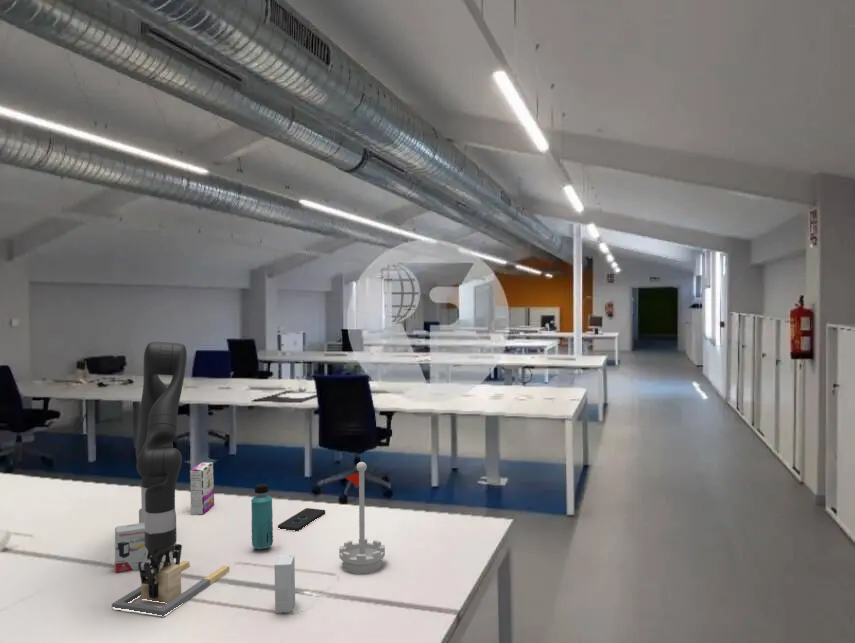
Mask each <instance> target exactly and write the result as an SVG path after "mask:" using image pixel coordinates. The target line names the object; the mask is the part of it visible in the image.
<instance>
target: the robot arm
mask: <svg viewBox="0 0 855 643" xmlns="http://www.w3.org/2000/svg"><path fill="white" fill-rule="evenodd" d="M143 353H144V354H143V386H142V394H141V402H140V412H139V414H140V415H139V429H138V434H137V438H136V444H135V459H136V471H137V474H138V475H139V476H141V481H140V485H141V486H140V488H141V508H140V509H138V523H144V532H145V547H146V548H147V550H148V555H147V559H146V560H145V561H144V562H139V564H138V567H139V569H138V570H139V571H138V572H139V577H140V582H142V584H148V585H149V597H150V598H157V597H158V579H159V577H158V575H159V574H160V572H161V571H162V568H163V566H165V565H172V564H177V565H180V562H181V557H182V556H181V555H182V550H183V549H182V548H183V545H182V544H179V543H177V541H178V540H177V513H176V487H177V486H176V485H177V481H178V477H179V475H180V474H179V473H180V471H181V467H182V463H183V456H182V453H181V451H180V450H179V449H178V448H174V443H173V442H174V441H175V440H176V436H177V430H178V428H177V427H178V425H177V424H178V412H179V404H180V400H181V394H182V390H183V385H184V379H185V374H186V367H187V357H188V355H187V354H188V353H187V348H186V346H185V344H183V343H179V342H167V341H151V342H149V343H148V344H147V345H146V347H145V349H144V352H143ZM159 375H160V376H172V377H171V381H170V383H169V385H168V386H167V385H166V384H165V383H164V382H163V381H162V380H161V379H160V377H159ZM153 568H157V570H153ZM152 573H153V574H155V576H154V578H153V577H152ZM146 577H147V578H146Z"/></svg>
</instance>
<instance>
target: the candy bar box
mask: <svg viewBox="0 0 855 643" xmlns="http://www.w3.org/2000/svg"><path fill="white" fill-rule="evenodd" d="M214 479H215V478H214V462H211V461H210V462H204V461H203V462H200V463H199V464H197V465H196V466H195V467H192V468H191V469H190V470H189V486H190V487H189V488H190V515H193V516H201V515H203V516H204V515H205V514H206V513H207V512H209V510H211V509H212V508H214V506H215V492H214V491H215V490H214V489H215V487H214V485H215V484H214V483H215V482H214Z"/></svg>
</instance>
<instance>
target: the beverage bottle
mask: <svg viewBox="0 0 855 643" xmlns="http://www.w3.org/2000/svg"><path fill="white" fill-rule="evenodd" d="M269 491H270V490H269V485H268V484H267V483H258V484H256V485H255V486H254V494H256V495H255V496H254V497H252V498H251V501H250V502H251V545H252V548H255V549H266V548H269V547H271V546H272V545H273V544H274V543H273V542H274V528H273V524H274V521H273V498H272V497H271V495H269V494H267V493H268V492H269Z"/></svg>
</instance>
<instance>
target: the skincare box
mask: <svg viewBox="0 0 855 643" xmlns="http://www.w3.org/2000/svg"><path fill="white" fill-rule="evenodd" d="M295 561H296V560H295V555H294V554H284V555H283V554H282V555H281V554H280V555H277V557H276V560H275V564H274V613H276V614H280V613H281V614H282V612H285V613H293V610H294V606H295V602H296V578H295V577H296V576H295V575H296V572H295V563H296V562H295Z"/></svg>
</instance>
